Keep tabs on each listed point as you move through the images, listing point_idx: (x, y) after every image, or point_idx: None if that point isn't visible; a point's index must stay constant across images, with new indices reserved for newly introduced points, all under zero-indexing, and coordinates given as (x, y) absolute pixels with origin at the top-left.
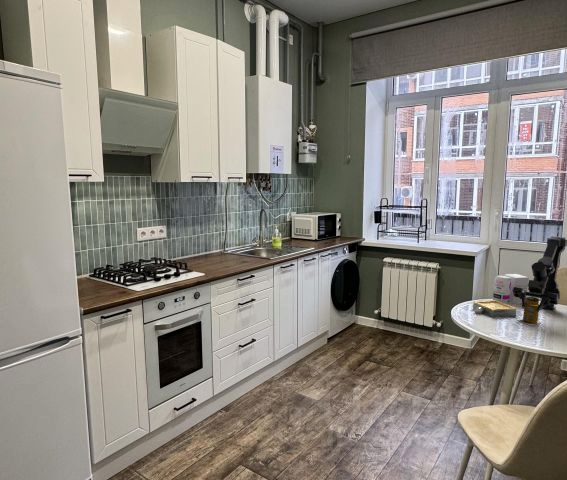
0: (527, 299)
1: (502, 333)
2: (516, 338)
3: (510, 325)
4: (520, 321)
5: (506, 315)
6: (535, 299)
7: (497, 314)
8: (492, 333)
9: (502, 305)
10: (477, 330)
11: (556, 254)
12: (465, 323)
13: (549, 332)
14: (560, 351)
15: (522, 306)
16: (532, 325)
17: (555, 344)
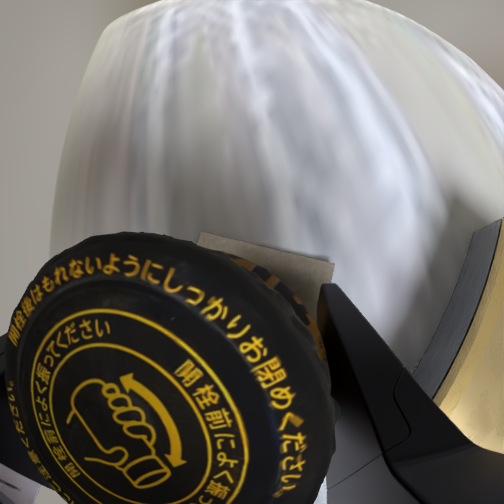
0: (267, 286)
1: (305, 17)
2: (242, 9)
3: (331, 130)
4: (306, 280)
5: (430, 351)
6: (32, 287)
7: (475, 264)
8: (332, 5)
9: None
10: (382, 10)
11: None
12: (456, 53)
13: (103, 182)
14: (107, 28)
15: (337, 289)
16: (202, 238)
17: (107, 57)
